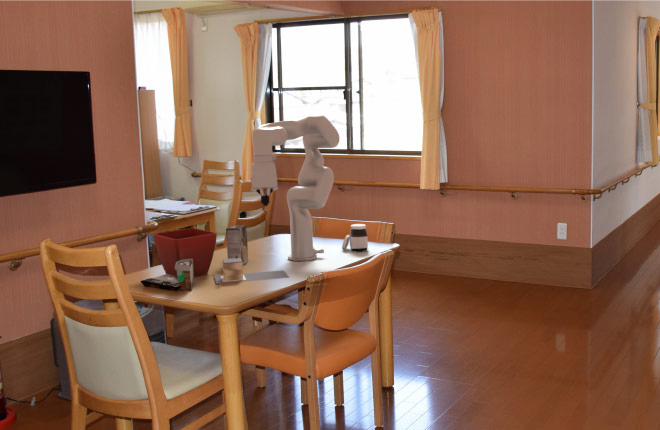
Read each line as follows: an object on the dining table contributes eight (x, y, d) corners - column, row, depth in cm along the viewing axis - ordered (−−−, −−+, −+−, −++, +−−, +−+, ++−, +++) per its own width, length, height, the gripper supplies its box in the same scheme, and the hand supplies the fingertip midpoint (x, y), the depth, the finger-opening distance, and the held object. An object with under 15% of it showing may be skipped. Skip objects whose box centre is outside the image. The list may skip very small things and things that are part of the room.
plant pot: (220, 273, 298) (217, 232, 296) (178, 282, 286) (175, 239, 283) (195, 266, 312) (192, 227, 310) (154, 274, 300) (151, 233, 297)
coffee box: (234, 261, 320) (232, 224, 318) (248, 261, 319) (246, 224, 317) (227, 265, 312) (225, 228, 309) (242, 266, 310) (240, 228, 308)
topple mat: (283, 271, 298) (283, 270, 298) (289, 278, 285) (289, 277, 285) (213, 277, 291) (213, 275, 291) (216, 284, 279) (216, 283, 279)
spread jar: (369, 251, 331) (368, 226, 329) (344, 253, 329) (343, 227, 327) (364, 247, 343) (363, 222, 341) (340, 248, 341) (339, 223, 339)
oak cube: (222, 259, 288) (223, 276, 289) (224, 262, 281) (225, 280, 282) (240, 257, 290) (241, 275, 291) (242, 261, 283) (243, 279, 284)
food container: (178, 284, 281) (176, 259, 280) (194, 284, 282) (192, 258, 280) (174, 293, 269) (172, 266, 268) (191, 292, 270) (189, 265, 268)
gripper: (280, 158, 297) (282, 203, 299) (243, 159, 293) (245, 205, 296) (283, 159, 289) (285, 205, 292) (245, 161, 286) (247, 207, 289)
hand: (265, 205), depth 294 cm, fingers closed
